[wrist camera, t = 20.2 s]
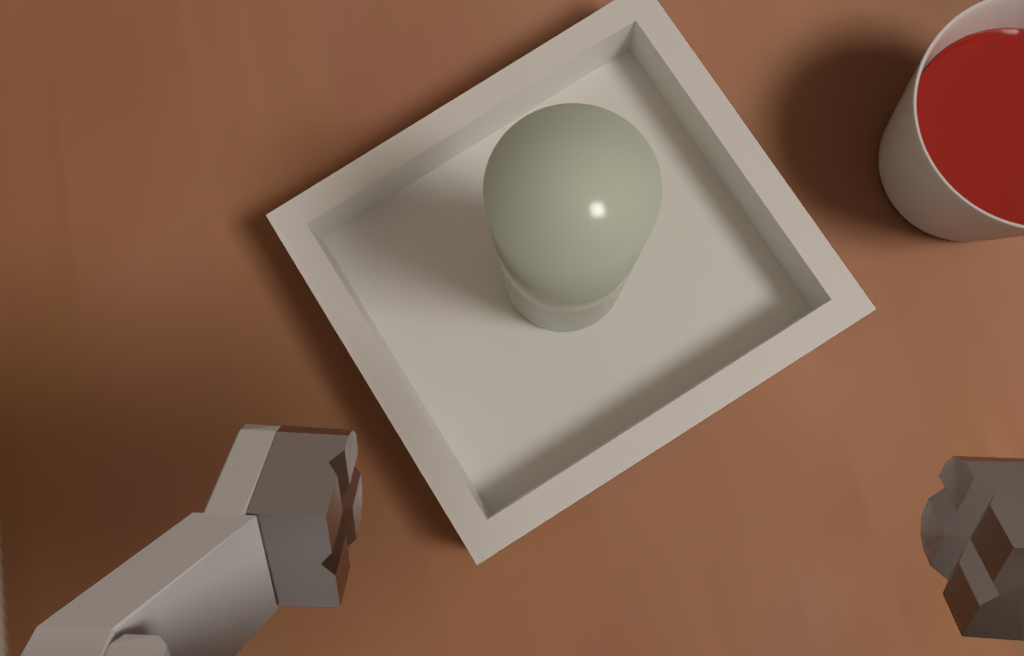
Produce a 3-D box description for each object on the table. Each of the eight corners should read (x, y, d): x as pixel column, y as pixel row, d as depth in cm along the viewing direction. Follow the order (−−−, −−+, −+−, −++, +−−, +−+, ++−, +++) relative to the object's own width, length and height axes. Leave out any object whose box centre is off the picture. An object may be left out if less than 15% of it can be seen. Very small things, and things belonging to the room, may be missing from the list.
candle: (1031, 49, 37) (1130, -32, 31) (1088, 245, 36) (1204, 204, 29) (829, 88, 37) (886, 16, 31) (878, 285, 36) (949, 252, 30)
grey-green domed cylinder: (544, 354, 35) (544, 310, 23) (481, 255, 36) (449, 162, 24) (645, 291, 35) (697, 214, 23) (580, 193, 36) (598, 70, 24)
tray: (483, 552, 35) (476, 564, 31) (291, 236, 37) (265, 215, 34) (843, 321, 36) (876, 309, 32) (635, 23, 38) (644, -19, 34)
